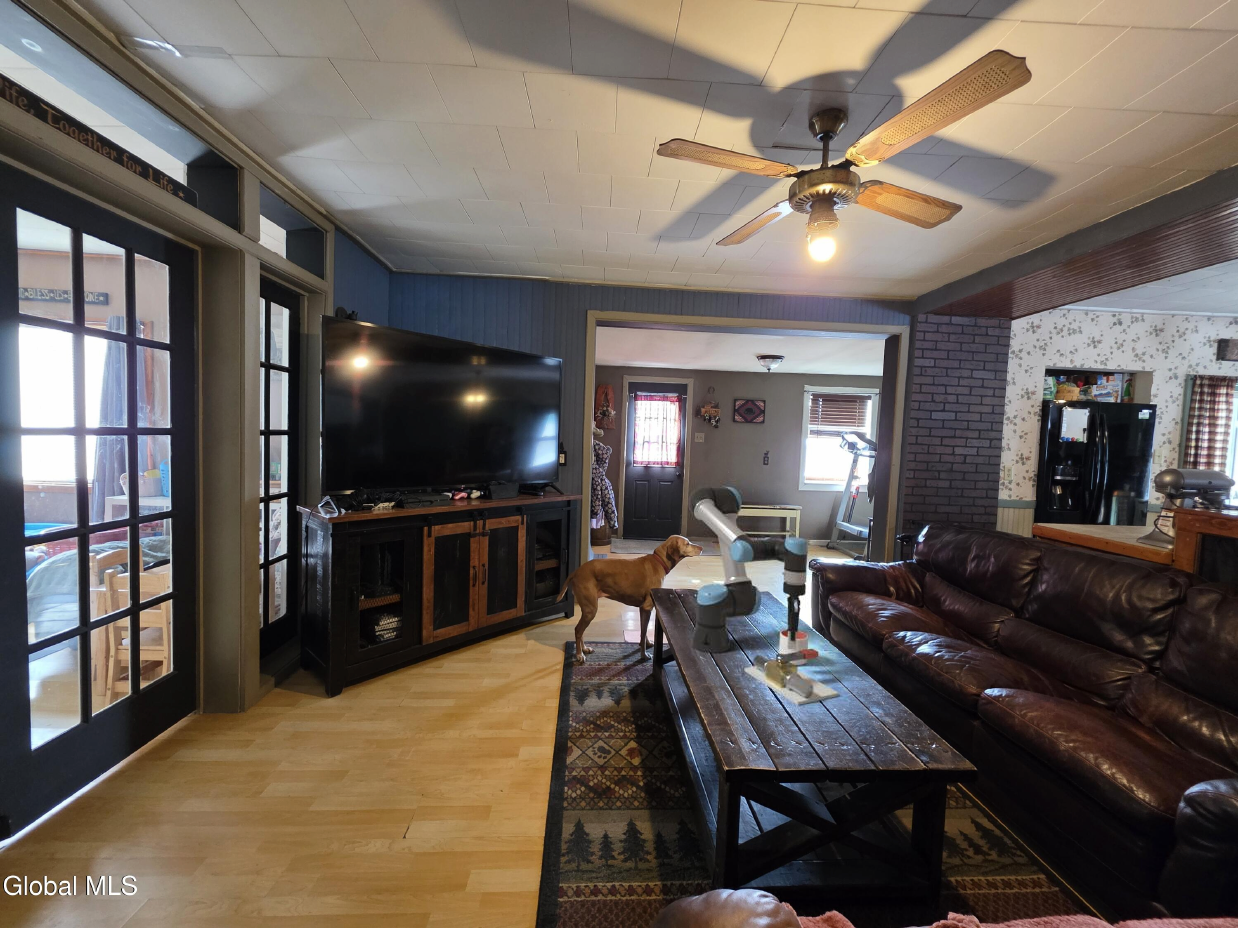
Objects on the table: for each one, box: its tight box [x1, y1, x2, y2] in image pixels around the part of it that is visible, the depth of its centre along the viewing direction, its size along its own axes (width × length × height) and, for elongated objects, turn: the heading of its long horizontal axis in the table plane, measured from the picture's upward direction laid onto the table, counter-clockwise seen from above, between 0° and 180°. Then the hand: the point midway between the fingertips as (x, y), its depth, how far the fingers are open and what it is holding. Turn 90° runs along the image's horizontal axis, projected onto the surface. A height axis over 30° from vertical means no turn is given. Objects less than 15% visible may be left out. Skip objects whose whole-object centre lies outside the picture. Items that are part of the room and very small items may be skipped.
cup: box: [778, 629, 809, 666], centre depth 197 cm, size 10×10×10 cm
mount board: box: [744, 665, 839, 706], centre depth 179 cm, size 26×17×1 cm, turn 25°
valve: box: [752, 654, 813, 698], centre depth 177 cm, size 24×7×7 cm, turn 25°
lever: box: [775, 648, 819, 664], centre depth 180 cm, size 16×4×2 cm, turn 115°
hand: (791, 648), depth 187 cm, fingers closed
